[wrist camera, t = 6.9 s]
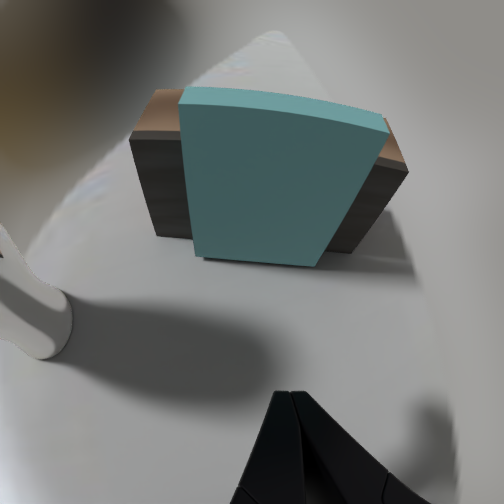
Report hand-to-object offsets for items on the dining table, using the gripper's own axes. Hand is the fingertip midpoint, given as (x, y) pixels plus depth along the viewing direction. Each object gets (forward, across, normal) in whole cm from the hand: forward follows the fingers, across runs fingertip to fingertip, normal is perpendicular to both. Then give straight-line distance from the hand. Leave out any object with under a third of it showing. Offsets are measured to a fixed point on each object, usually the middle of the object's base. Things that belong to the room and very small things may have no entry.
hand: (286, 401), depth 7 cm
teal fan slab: (+18, 0, -1) cm, 18 cm away
